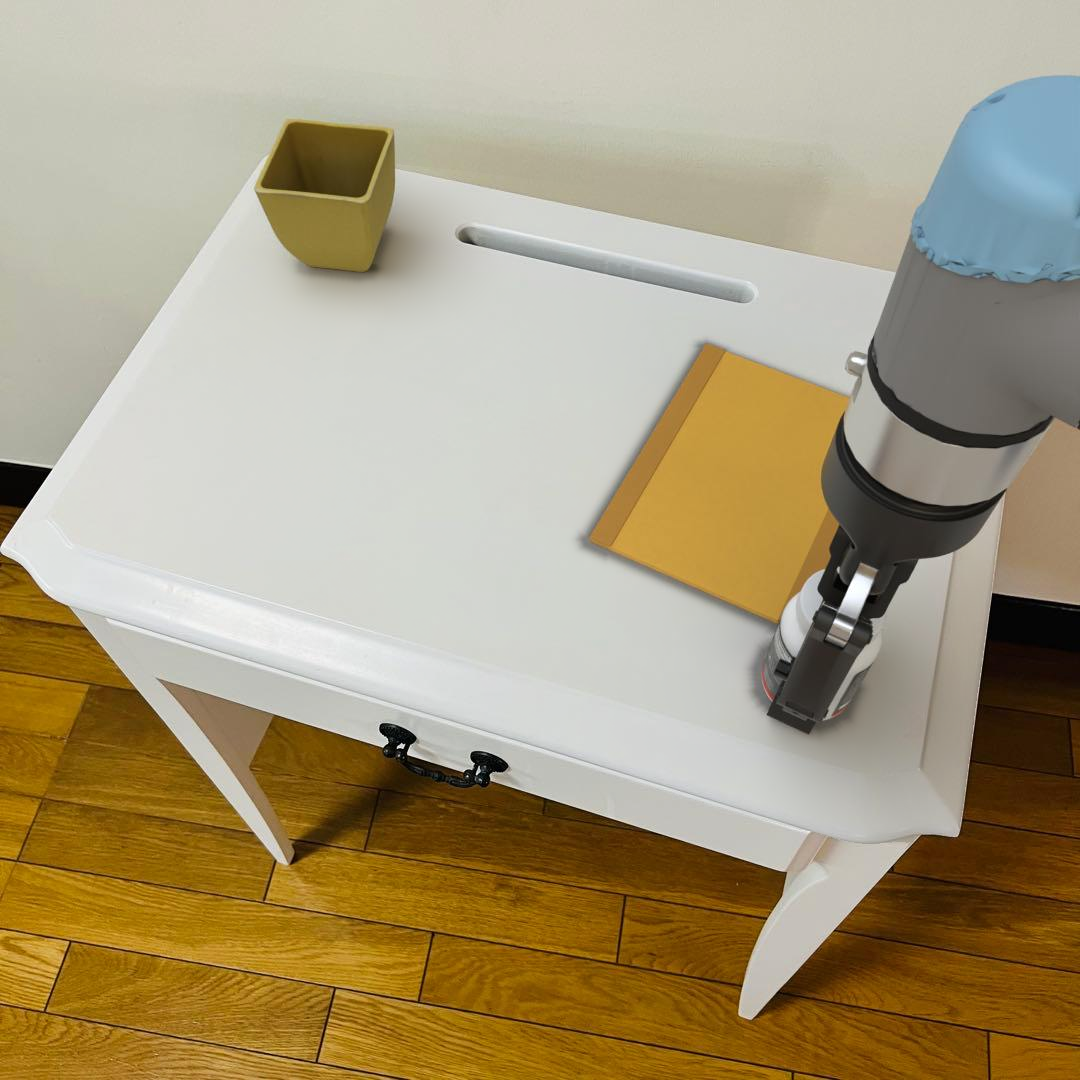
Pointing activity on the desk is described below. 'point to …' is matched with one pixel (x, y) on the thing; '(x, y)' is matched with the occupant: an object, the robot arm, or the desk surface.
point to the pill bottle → (793, 635)
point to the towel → (732, 485)
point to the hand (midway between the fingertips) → (808, 676)
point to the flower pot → (329, 191)
